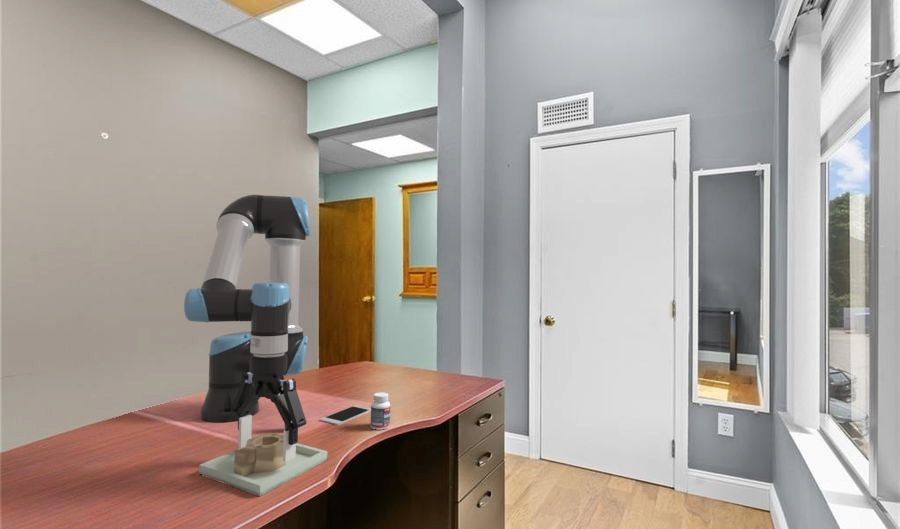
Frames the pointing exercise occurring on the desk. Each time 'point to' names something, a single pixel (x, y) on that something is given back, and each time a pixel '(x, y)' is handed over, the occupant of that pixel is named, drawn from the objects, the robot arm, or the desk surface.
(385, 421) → the pill bottle
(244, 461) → the tan notched block
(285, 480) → the tray
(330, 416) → the smartphone
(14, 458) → the desk surface
